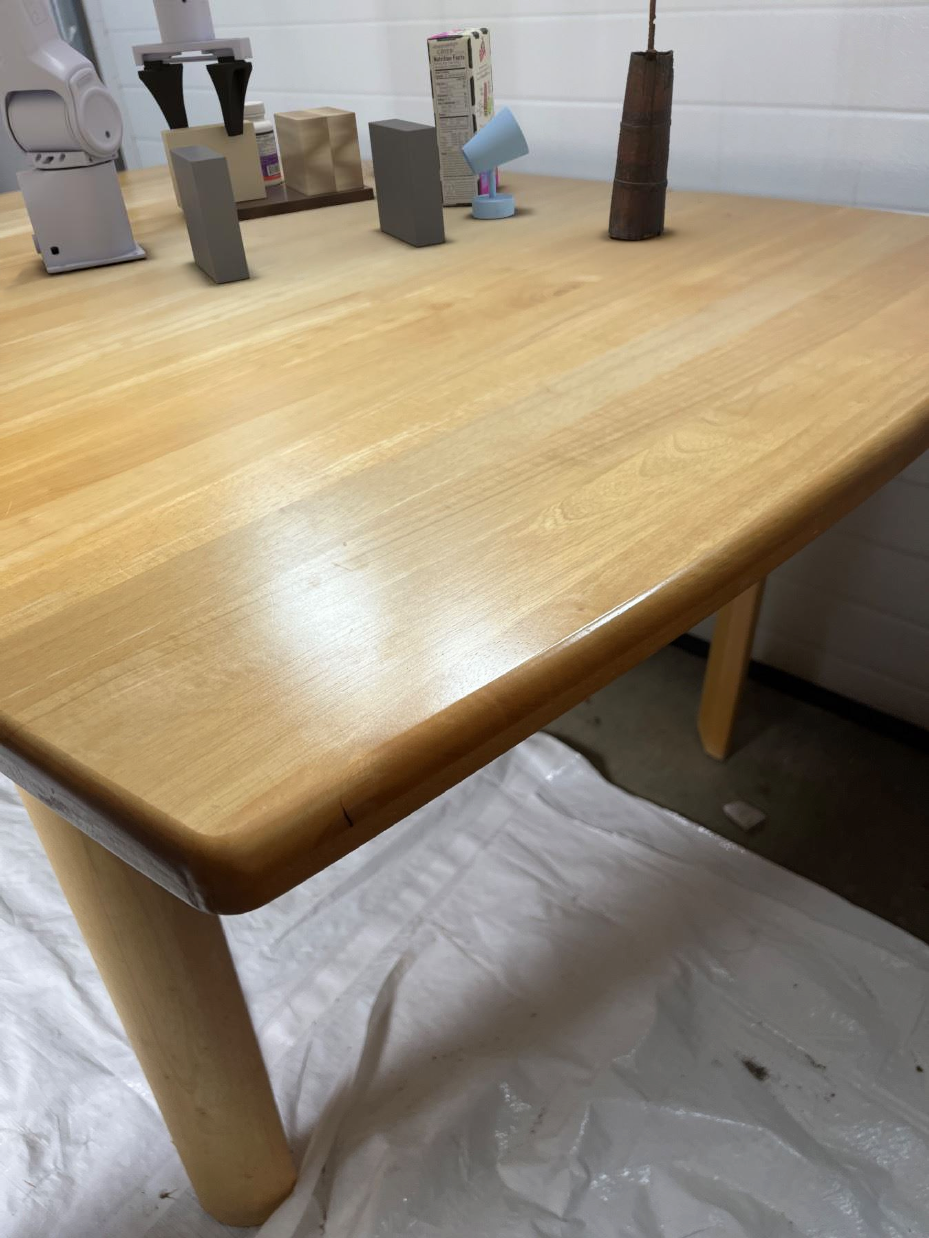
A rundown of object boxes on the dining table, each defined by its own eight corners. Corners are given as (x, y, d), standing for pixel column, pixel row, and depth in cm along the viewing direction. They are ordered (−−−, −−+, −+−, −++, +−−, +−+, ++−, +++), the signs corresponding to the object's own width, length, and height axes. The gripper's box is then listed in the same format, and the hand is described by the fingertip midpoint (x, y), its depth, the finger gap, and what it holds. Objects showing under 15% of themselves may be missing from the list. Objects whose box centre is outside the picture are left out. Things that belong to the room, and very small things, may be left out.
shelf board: (210, 225, 105) (190, 135, 100) (189, 209, 114) (170, 125, 109) (374, 198, 111) (364, 112, 106) (341, 185, 120) (331, 105, 115)
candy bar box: (459, 188, 113) (448, 29, 104) (499, 186, 112) (491, 26, 103) (438, 207, 104) (424, 36, 95) (482, 206, 103) (472, 32, 94)
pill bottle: (240, 184, 127) (225, 104, 122) (279, 179, 128) (265, 99, 123) (244, 190, 123) (228, 107, 117) (285, 185, 124) (271, 102, 118)
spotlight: (523, 206, 101) (461, 213, 101) (520, 102, 96) (454, 109, 95) (534, 214, 97) (470, 222, 97) (532, 107, 92) (463, 113, 91)
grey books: (217, 284, 83) (190, 161, 77) (194, 262, 90) (168, 149, 85) (445, 242, 90) (436, 127, 84) (406, 225, 97) (396, 118, 92)
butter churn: (673, 251, 81) (696, -165, 65) (571, 246, 85) (569, -147, 69) (702, 227, 87) (729, -157, 71) (606, 224, 91) (612, -141, 75)
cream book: (267, 198, 110) (253, 122, 105) (182, 210, 107) (165, 133, 102) (260, 194, 113) (246, 120, 108) (177, 206, 110) (160, 131, 105)
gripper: (257, -14, 98) (280, 129, 106) (149, -4, 104) (179, 132, 111) (217, -11, 93) (245, 139, 101) (106, -1, 98) (141, 141, 106)
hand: (208, 136), depth 106 cm, fingers open, 7 cm apart
